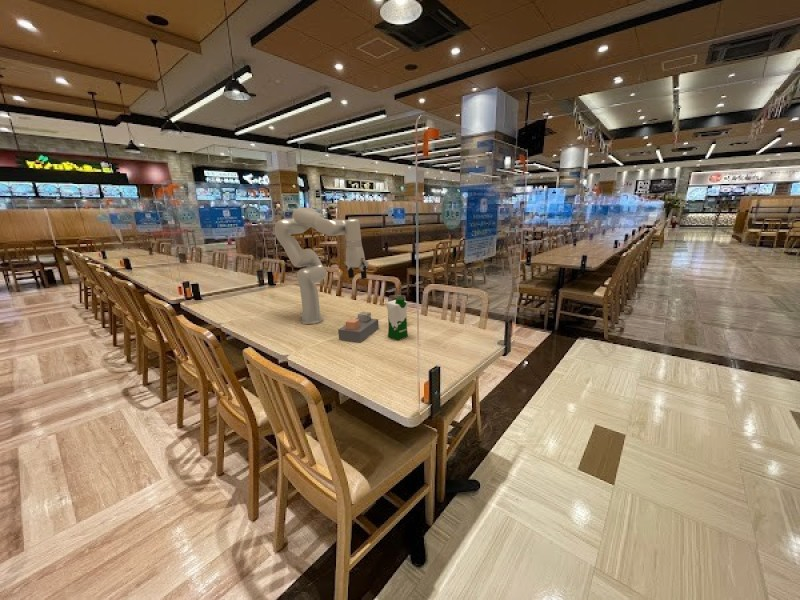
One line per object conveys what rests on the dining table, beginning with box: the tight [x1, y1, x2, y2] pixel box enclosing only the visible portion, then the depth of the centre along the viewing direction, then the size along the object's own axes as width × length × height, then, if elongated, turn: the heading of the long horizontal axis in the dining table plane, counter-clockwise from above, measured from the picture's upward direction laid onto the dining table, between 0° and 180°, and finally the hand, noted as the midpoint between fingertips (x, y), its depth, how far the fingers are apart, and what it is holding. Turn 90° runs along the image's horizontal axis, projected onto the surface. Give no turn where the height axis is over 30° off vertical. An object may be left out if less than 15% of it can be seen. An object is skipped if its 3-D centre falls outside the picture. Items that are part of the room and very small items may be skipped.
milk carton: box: [385, 298, 409, 341], centre depth 156 cm, size 9×9×20 cm
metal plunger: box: [357, 311, 372, 323], centre depth 167 cm, size 5×5×5 cm
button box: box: [337, 317, 380, 344], centre depth 163 cm, size 12×20×6 cm, turn 158°
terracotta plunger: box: [344, 318, 360, 331], centre depth 156 cm, size 5×5×5 cm
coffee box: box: [387, 294, 407, 302], centre depth 174 cm, size 9×6×16 cm
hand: (357, 278), depth 164 cm, fingers open, 9 cm apart
